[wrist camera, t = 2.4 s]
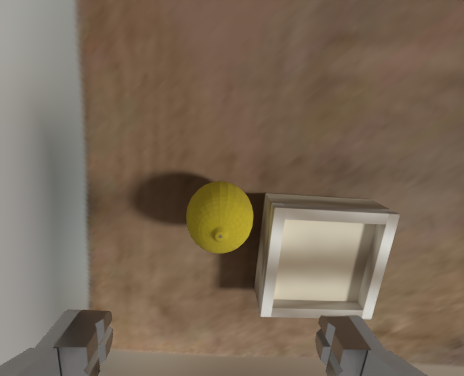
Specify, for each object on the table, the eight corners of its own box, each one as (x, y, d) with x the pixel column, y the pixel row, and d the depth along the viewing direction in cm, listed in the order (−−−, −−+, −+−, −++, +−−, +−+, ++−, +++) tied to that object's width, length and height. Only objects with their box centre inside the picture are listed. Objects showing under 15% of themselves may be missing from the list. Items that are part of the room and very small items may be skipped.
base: (265, 193, 24) (274, 207, 20) (370, 199, 25) (399, 214, 21) (254, 287, 27) (260, 316, 23) (348, 290, 28) (371, 319, 24)
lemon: (256, 209, 25) (274, 250, 17) (209, 234, 25) (205, 285, 17) (230, 162, 23) (236, 183, 15) (180, 190, 24) (162, 223, 16)
